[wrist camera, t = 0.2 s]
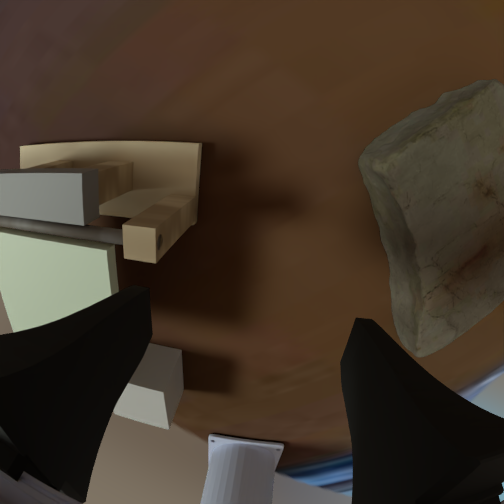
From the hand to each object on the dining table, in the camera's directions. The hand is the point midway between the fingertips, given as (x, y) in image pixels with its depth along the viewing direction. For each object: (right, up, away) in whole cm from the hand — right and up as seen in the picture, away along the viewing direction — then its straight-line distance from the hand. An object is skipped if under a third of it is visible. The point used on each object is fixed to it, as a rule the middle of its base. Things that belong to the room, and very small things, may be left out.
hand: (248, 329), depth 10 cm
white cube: (-9, -8, +12) cm, 17 cm away
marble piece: (+14, +6, +8) cm, 17 cm away
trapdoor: (-12, +1, +5) cm, 13 cm away
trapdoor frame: (-11, +8, +9) cm, 16 cm away
